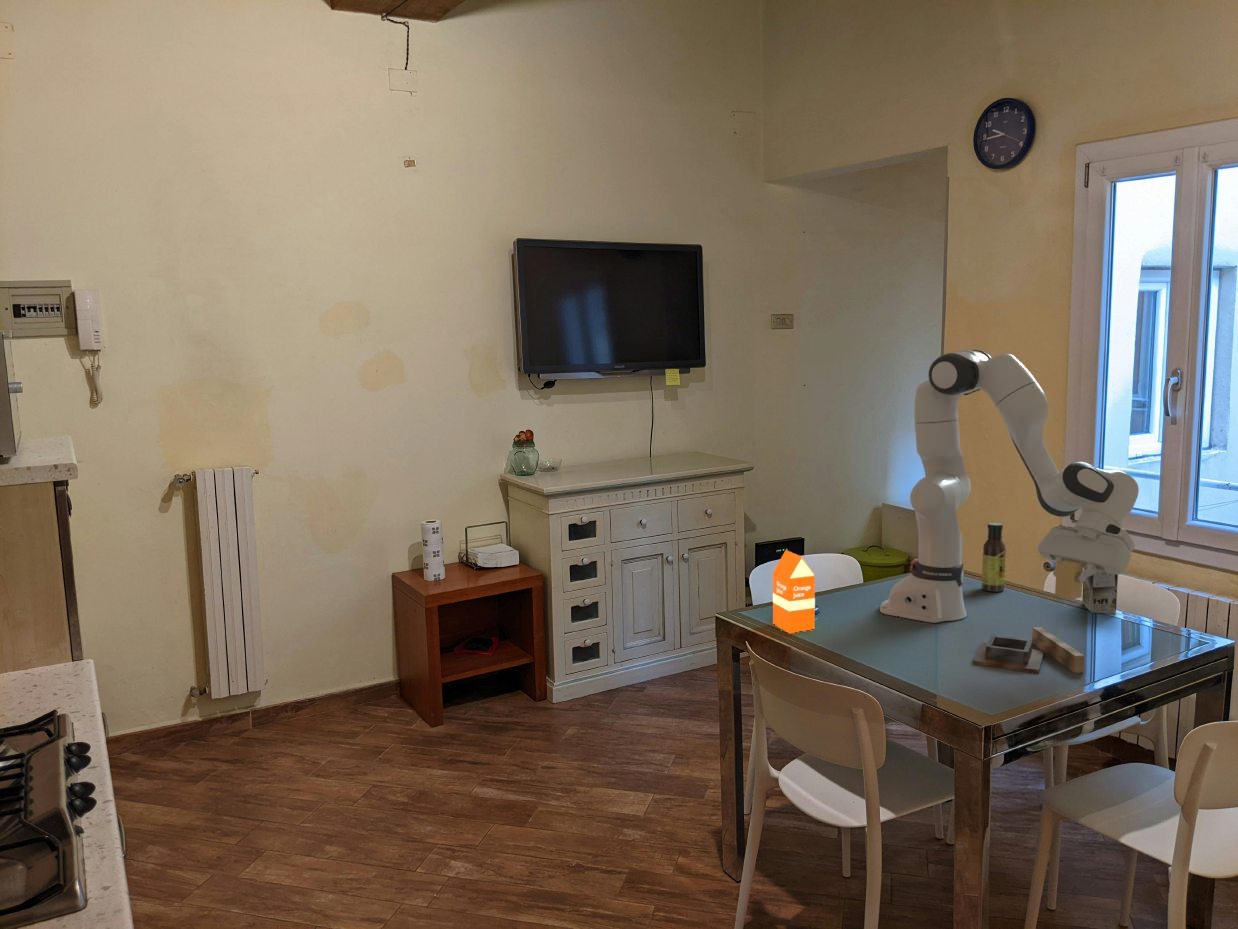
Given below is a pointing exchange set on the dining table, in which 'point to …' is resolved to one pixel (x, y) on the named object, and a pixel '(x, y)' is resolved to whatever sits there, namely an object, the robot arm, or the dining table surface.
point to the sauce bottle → (994, 559)
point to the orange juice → (793, 594)
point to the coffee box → (1100, 592)
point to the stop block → (1068, 580)
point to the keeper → (1009, 654)
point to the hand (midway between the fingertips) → (1067, 578)
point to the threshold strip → (1058, 649)
